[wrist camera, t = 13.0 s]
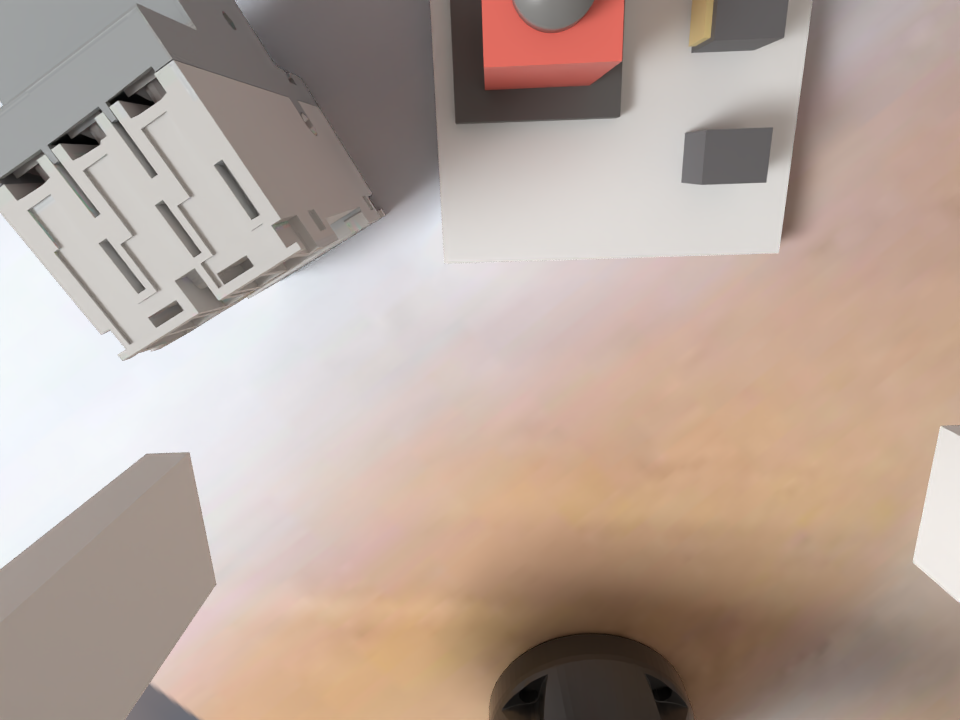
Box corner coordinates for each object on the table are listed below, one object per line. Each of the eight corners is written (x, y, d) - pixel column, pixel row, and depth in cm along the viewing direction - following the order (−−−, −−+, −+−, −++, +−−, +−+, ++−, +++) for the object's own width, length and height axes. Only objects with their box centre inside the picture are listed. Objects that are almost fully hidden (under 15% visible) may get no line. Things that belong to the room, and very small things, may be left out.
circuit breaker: (227, -40, 29) (-30, -240, 14) (385, 215, 32) (305, 256, 18) (114, 46, 30) (-225, -60, 16) (279, 281, 34) (127, 367, 20)
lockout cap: (589, 85, 27) (628, 56, 20) (484, 90, 28) (483, 63, 20) (592, -38, 26) (635, -121, 18) (480, -32, 26) (477, -112, 18)
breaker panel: (762, 247, 33) (808, 262, 28) (446, 257, 33) (439, 273, 28) (824, -251, 26) (900, -345, 21) (421, -230, 26) (406, -317, 21)
